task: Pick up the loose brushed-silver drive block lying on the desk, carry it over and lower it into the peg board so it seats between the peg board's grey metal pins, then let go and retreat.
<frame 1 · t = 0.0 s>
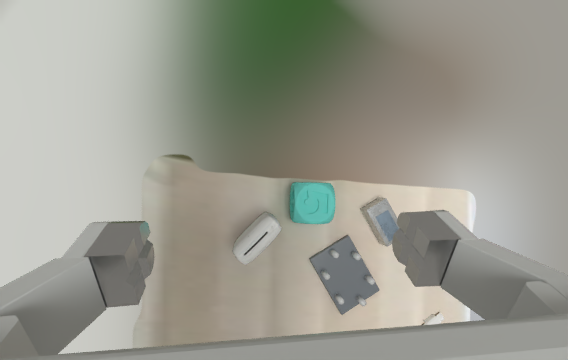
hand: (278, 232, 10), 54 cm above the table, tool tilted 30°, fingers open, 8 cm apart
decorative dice: (307, 201, 65), on the table
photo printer: (256, 231, 64), on the table
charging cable: (381, 357, 66), on the table
drive: (378, 220, 67), on the table
peg board: (343, 273, 65), on the table
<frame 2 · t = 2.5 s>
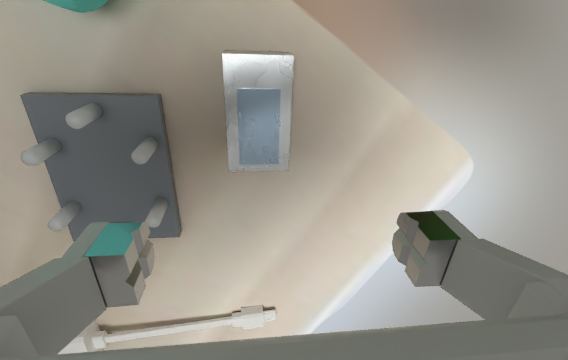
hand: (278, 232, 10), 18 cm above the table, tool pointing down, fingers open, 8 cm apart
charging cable: (141, 322, 37), on the table
drive: (257, 106, 26), on the table
peg board: (115, 171, 27), on the table
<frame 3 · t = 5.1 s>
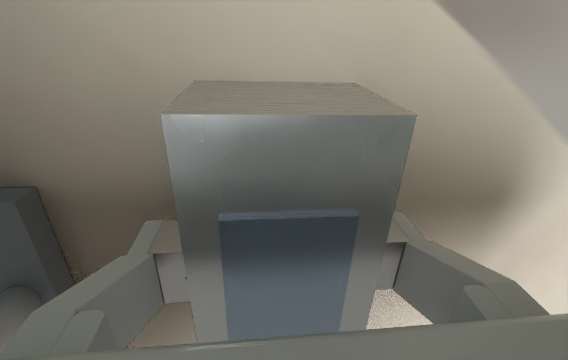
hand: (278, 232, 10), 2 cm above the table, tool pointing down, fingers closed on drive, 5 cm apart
drive: (274, 204, 11), on the table, touching gripper
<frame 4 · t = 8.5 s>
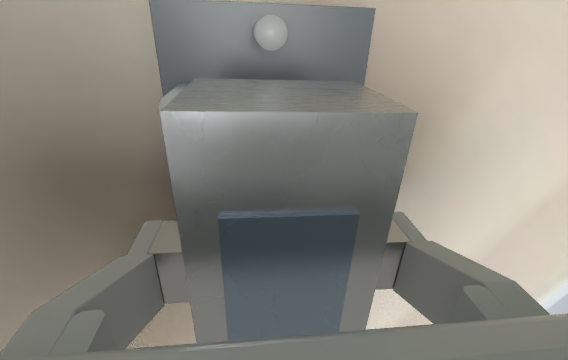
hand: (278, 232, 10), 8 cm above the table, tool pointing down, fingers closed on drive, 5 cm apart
drive: (274, 203, 11), point 7 cm above the table, touching gripper
peg board: (265, 145, 17), on the table
when the fingers open (4 cm above the table, at t = 10.3 s): drive stays where it is, resting on peg board.
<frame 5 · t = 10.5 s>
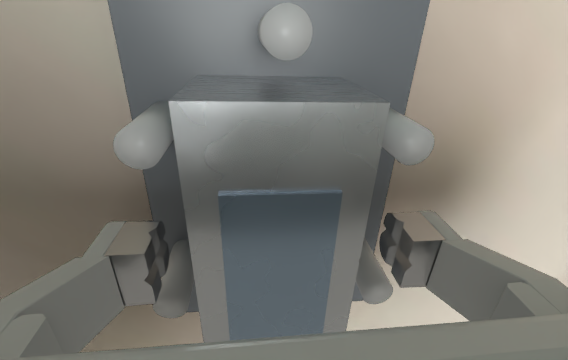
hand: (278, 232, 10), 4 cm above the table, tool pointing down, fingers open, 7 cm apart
drive: (270, 190, 12), point 1 cm above the table, touching peg board
peg board: (271, 178, 13), on the table
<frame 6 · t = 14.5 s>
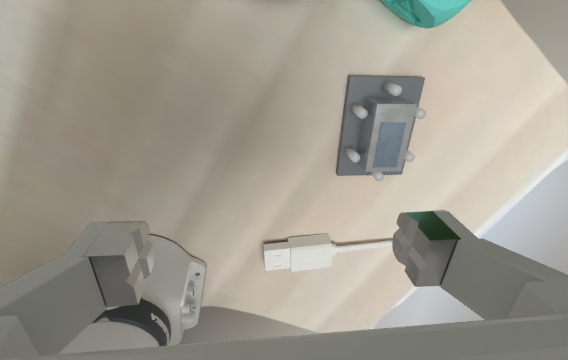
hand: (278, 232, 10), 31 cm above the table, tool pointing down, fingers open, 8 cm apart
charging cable: (352, 240, 52), on the table
drive: (377, 130, 41), point 1 cm above the table, touching peg board
peg board: (375, 127, 42), on the table
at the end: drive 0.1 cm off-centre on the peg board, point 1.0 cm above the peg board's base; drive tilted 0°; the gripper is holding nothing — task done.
